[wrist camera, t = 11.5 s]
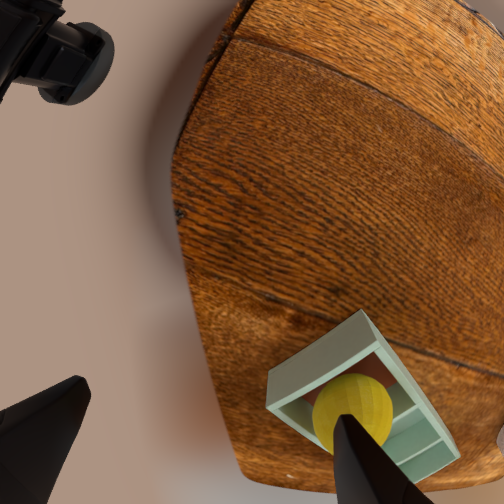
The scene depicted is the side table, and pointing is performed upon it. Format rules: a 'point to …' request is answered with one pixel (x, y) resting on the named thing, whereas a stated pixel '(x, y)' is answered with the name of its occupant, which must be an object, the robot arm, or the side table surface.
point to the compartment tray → (379, 368)
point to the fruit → (353, 407)
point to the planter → (501, 440)
